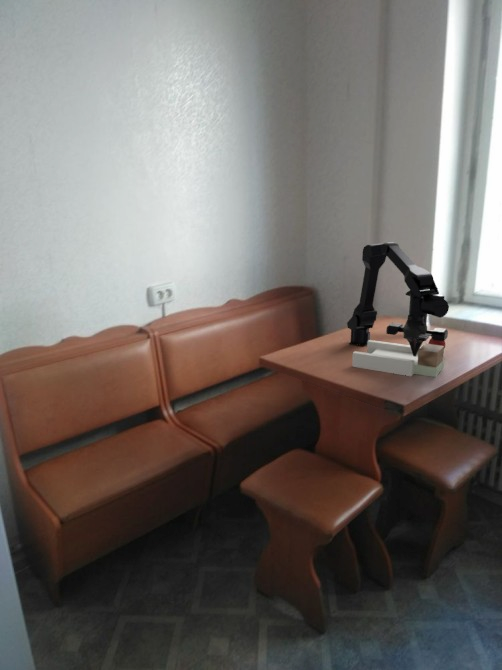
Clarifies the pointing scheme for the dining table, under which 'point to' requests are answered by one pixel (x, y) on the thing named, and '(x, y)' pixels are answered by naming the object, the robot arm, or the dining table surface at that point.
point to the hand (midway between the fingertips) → (414, 356)
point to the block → (430, 355)
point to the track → (386, 358)
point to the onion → (437, 342)
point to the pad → (428, 369)
